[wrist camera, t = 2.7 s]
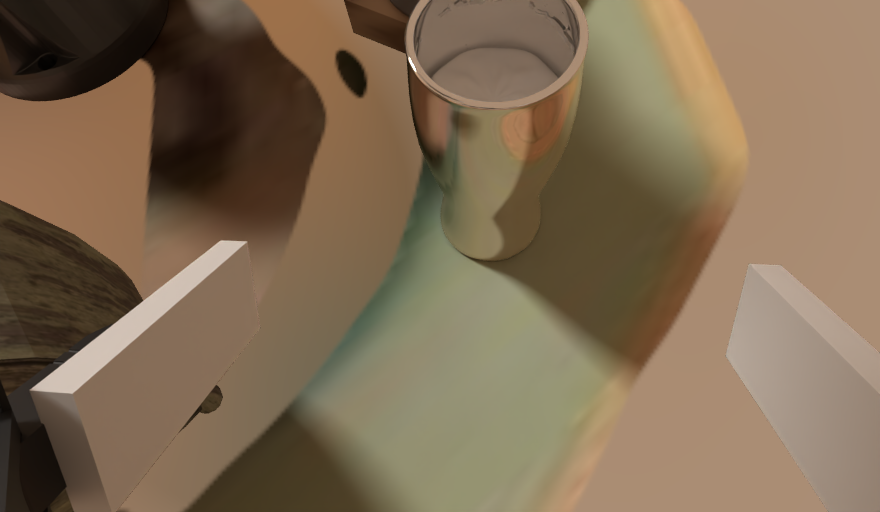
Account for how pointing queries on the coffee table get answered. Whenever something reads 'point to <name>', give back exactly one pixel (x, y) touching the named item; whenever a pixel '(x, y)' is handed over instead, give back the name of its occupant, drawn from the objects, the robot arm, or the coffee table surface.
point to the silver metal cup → (494, 110)
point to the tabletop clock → (56, 301)
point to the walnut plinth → (381, 20)
